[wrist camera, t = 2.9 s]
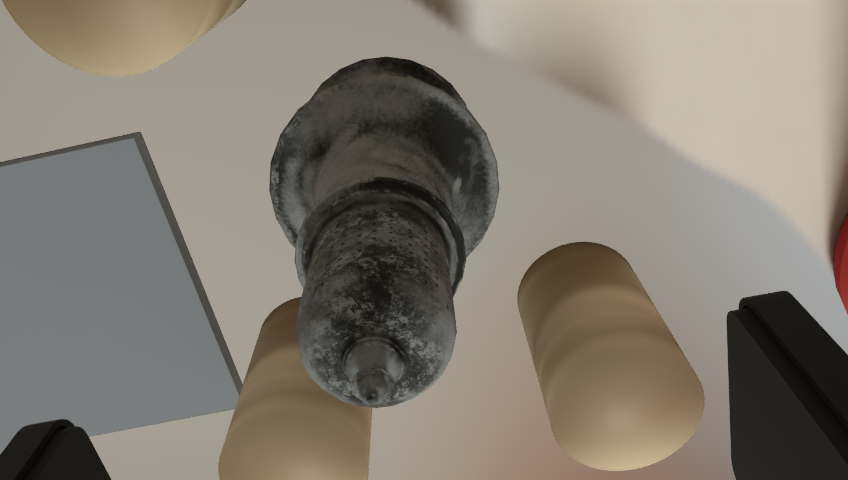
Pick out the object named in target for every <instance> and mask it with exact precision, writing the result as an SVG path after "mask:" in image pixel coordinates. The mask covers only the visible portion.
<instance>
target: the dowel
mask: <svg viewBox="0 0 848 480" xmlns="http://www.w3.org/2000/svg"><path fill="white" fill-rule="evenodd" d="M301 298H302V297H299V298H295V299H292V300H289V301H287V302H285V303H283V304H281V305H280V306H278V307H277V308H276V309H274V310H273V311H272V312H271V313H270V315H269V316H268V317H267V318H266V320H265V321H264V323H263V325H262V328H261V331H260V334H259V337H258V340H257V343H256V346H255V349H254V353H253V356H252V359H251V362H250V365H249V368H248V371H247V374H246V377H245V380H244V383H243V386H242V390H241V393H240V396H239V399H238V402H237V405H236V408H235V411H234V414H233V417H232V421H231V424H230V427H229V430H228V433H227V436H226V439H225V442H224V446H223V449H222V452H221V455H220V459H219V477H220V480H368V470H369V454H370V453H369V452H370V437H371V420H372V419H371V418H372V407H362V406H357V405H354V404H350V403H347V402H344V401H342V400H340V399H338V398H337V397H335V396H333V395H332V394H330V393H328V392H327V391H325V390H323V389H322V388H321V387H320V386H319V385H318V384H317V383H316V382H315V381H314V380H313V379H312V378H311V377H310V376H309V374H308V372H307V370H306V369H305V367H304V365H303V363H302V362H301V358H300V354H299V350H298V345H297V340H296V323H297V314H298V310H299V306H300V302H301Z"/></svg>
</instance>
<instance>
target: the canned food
mask: <svg viewBox="0 0 848 480" xmlns="http://www.w3.org/2000/svg"><path fill="white" fill-rule="evenodd" d="M833 270H834V277H835V283H836V288H837V290H838V292H839V295H840V297H841V300H842V302H843V304H844V307H845V309H846V311H847V314H848V215H847V217H846V219H845V221H844V223H843V225H842V227H841V230H840V233H839V237H838V240H837V244H836V247H835V253H834V266H833Z"/></svg>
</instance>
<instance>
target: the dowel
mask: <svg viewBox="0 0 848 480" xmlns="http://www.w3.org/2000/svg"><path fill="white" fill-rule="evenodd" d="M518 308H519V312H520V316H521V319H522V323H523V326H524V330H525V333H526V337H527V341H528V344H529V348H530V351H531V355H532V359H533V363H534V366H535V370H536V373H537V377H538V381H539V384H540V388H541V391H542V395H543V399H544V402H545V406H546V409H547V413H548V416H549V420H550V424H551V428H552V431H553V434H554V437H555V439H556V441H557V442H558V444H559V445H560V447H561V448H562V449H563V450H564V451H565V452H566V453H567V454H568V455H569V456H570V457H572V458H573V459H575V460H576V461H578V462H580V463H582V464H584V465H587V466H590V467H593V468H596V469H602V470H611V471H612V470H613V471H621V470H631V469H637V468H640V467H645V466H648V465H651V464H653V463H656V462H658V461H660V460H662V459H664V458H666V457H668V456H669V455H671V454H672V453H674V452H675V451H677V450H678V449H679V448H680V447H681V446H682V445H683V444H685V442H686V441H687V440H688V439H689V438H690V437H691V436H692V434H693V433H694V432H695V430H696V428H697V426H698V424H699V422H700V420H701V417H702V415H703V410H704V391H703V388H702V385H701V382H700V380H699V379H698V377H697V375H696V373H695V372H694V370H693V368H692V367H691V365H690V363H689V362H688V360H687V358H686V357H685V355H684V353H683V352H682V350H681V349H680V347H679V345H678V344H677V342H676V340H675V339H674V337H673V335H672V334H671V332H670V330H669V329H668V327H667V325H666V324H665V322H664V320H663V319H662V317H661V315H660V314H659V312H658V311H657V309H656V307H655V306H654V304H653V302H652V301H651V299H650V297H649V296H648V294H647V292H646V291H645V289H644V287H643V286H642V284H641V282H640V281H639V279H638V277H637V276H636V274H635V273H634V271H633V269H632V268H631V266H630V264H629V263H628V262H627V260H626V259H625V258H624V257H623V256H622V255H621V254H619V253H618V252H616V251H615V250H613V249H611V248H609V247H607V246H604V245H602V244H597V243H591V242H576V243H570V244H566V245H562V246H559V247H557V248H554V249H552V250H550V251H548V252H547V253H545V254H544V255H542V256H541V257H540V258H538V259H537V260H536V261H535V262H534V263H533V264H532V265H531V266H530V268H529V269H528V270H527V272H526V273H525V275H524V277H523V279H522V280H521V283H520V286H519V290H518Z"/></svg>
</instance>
